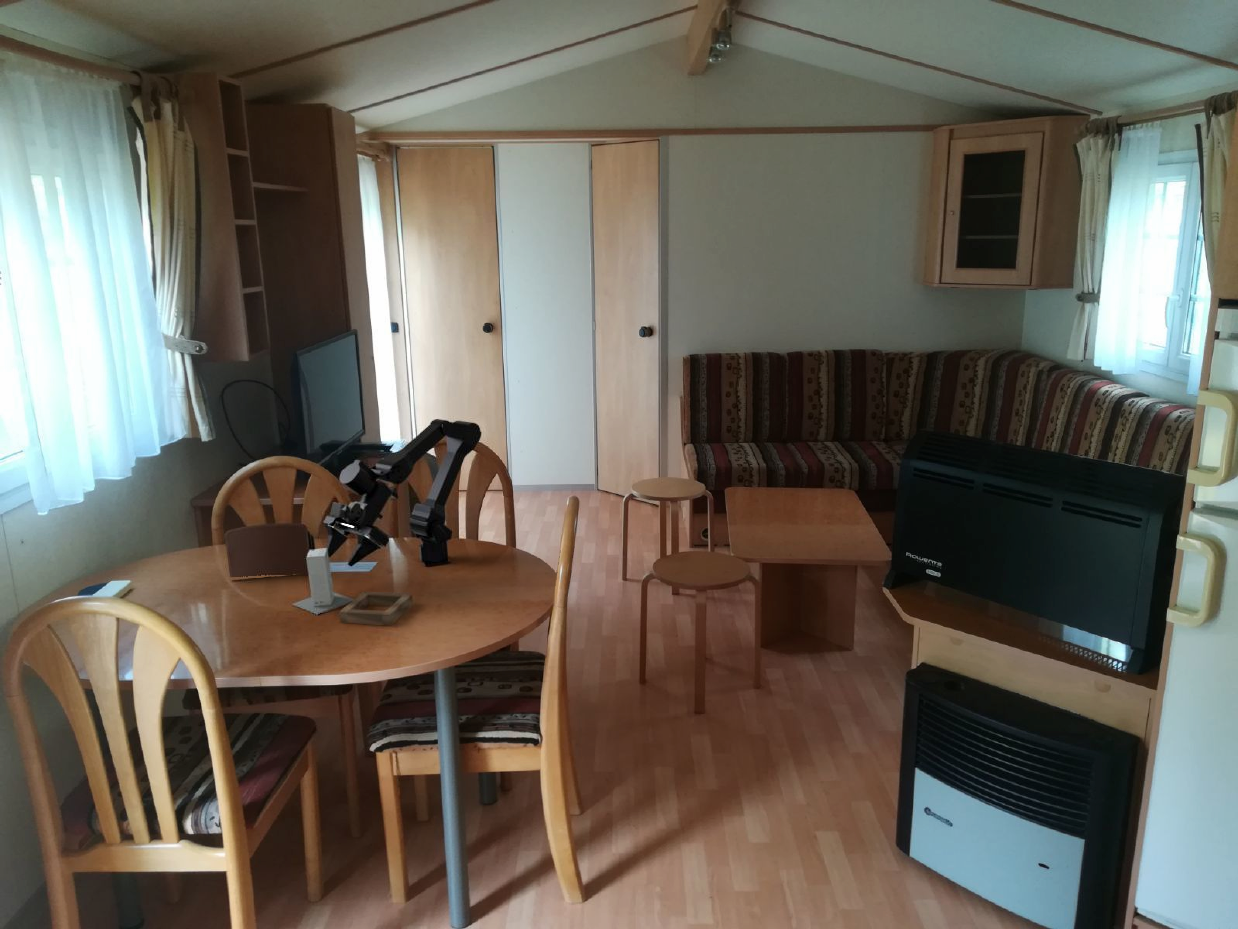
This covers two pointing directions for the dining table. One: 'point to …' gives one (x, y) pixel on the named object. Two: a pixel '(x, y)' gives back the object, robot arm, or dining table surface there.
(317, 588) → the skincare box
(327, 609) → the grey mat
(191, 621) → the dining table surface
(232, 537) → the letter holder
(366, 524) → the robot arm
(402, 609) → the walnut collar
